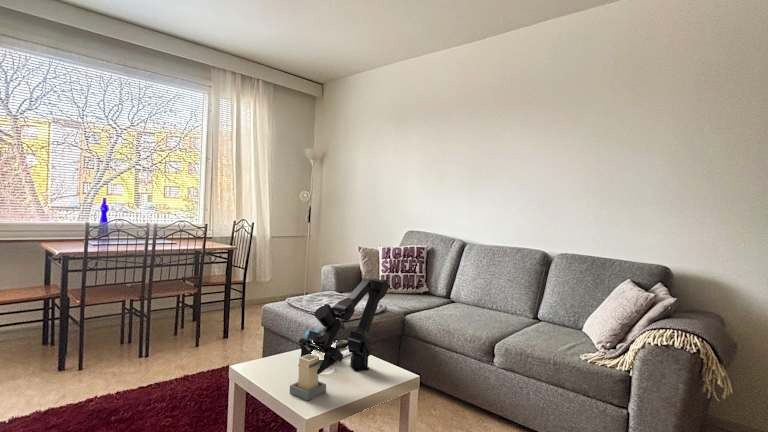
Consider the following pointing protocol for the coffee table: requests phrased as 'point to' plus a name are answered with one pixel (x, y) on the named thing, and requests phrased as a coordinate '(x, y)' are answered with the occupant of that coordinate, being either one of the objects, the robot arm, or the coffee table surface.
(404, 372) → the coffee table surface
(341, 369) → the coffee table surface
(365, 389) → the coffee table surface
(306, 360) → the kraft box
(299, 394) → the tray
